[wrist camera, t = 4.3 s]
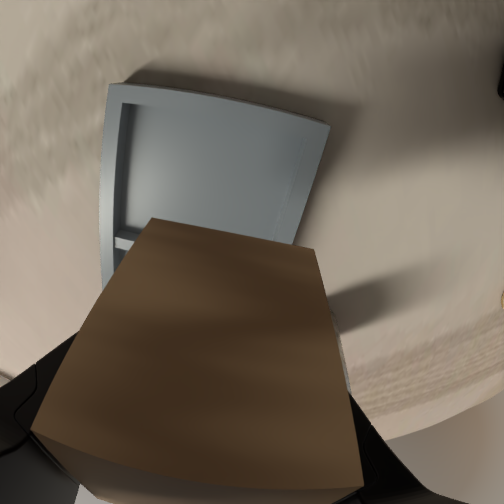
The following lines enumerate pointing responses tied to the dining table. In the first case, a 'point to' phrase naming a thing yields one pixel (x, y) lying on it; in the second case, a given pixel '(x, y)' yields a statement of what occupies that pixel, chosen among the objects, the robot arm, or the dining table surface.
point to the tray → (201, 166)
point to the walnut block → (206, 378)
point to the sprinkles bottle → (502, 301)
